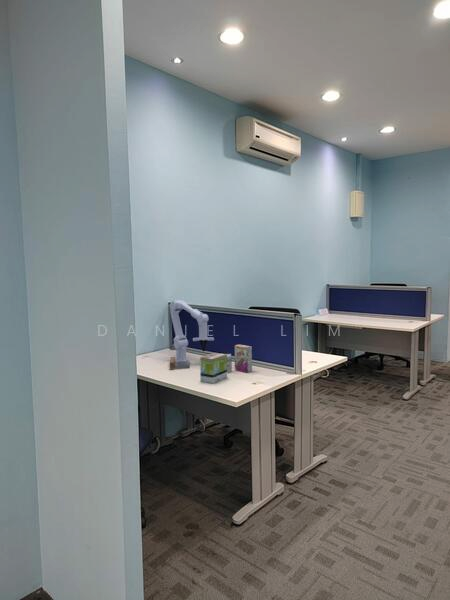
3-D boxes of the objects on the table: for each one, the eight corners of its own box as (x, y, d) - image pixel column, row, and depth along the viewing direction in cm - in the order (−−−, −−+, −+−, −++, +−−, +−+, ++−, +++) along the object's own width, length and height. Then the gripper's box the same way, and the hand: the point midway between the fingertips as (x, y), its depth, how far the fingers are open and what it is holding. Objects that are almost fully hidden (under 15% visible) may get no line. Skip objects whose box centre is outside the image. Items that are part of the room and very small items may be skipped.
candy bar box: (234, 370, 256) (233, 345, 254) (239, 368, 259) (239, 344, 258) (247, 372, 248) (247, 347, 247) (252, 371, 252) (252, 346, 250)
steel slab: (175, 365, 271) (175, 361, 271) (189, 365, 272) (189, 361, 272) (174, 369, 261) (174, 365, 261) (189, 369, 262) (189, 364, 262)
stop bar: (171, 364, 275) (170, 357, 274) (175, 363, 275) (175, 356, 274) (169, 370, 259) (169, 362, 258) (174, 369, 259) (174, 362, 259)
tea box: (214, 383, 226) (213, 358, 225) (200, 381, 232) (199, 357, 230) (227, 377, 239) (227, 353, 238) (214, 375, 244) (213, 352, 243)
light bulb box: (231, 369, 256) (231, 353, 256) (231, 372, 250) (230, 356, 249) (215, 369, 258) (215, 353, 257) (214, 372, 251) (214, 355, 250)
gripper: (192, 332, 266) (193, 352, 267) (213, 332, 267) (214, 351, 268) (192, 331, 273) (193, 350, 274) (213, 330, 274) (213, 349, 275)
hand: (203, 351), depth 272 cm, fingers closed
